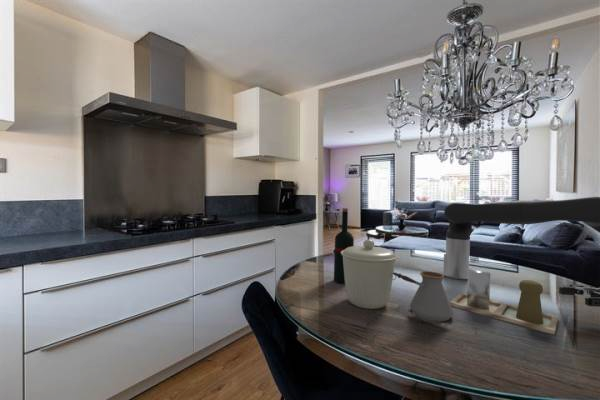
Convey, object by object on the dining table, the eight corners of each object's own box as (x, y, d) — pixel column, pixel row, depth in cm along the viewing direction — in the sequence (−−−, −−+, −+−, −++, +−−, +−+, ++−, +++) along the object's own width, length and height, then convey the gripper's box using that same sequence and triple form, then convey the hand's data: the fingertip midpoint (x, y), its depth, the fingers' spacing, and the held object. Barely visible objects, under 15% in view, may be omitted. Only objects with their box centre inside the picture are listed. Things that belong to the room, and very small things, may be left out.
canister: (373, 290, 104) (375, 234, 103) (408, 310, 87) (410, 243, 86) (330, 296, 97) (331, 236, 97) (359, 318, 80) (361, 245, 80)
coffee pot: (427, 307, 90) (429, 260, 89) (462, 322, 79) (463, 270, 79) (375, 318, 81) (377, 267, 80) (406, 337, 70) (408, 278, 70)
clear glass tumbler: (464, 305, 89) (465, 271, 88) (469, 300, 93) (471, 268, 92) (486, 311, 84) (487, 275, 84) (491, 306, 88) (492, 271, 88)
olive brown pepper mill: (548, 325, 76) (550, 285, 75) (523, 323, 77) (525, 283, 76) (534, 316, 81) (536, 278, 81) (511, 314, 83) (512, 277, 82)
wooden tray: (449, 308, 89) (449, 301, 89) (461, 299, 97) (461, 292, 97) (554, 339, 71) (554, 330, 71) (557, 324, 80) (558, 316, 80)
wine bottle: (344, 287, 107) (346, 209, 106) (329, 279, 116) (331, 207, 115) (360, 284, 111) (362, 209, 110) (345, 277, 120) (347, 207, 119)
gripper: (611, 277, 84) (552, 275, 86) (668, 295, 70) (597, 291, 71) (610, 302, 84) (551, 299, 86) (667, 324, 70) (595, 320, 72)
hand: (572, 295), depth 79 cm, fingers open, 8 cm apart
